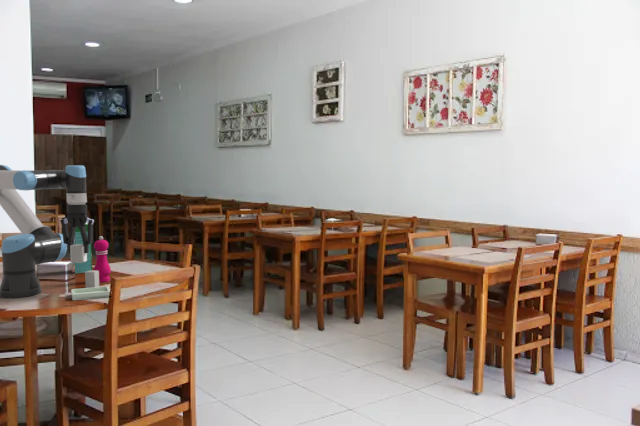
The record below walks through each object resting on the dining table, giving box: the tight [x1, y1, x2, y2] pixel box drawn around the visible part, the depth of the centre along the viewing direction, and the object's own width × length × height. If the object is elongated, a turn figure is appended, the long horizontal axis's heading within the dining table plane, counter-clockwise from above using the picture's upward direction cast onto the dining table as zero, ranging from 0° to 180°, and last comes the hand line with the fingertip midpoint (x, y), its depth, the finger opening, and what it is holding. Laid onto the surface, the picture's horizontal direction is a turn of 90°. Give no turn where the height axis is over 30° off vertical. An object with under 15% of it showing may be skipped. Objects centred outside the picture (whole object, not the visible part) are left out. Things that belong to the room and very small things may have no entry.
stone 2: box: [84, 269, 100, 288], centre depth 249 cm, size 4×4×7 cm
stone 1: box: [70, 244, 86, 263], centre depth 241 cm, size 4×4×7 cm
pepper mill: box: [93, 235, 112, 283], centre depth 262 cm, size 7×7×20 cm
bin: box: [70, 285, 111, 301], centre depth 234 cm, size 14×11×2 cm
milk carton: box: [73, 222, 93, 274], centre depth 285 cm, size 9×9×25 cm
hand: (78, 261), depth 241 cm, fingers closed on stone 1, 4 cm apart
